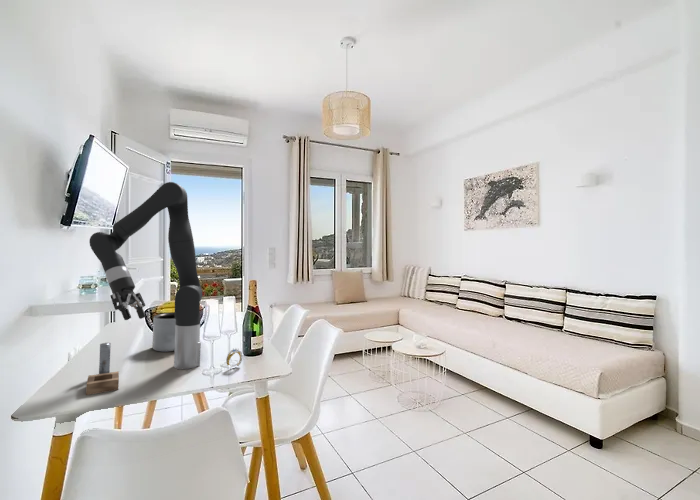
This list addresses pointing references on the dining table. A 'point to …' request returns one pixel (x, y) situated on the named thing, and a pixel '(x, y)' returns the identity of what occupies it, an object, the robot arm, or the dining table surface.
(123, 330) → the dining table surface
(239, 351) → the ring
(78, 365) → the dining table surface
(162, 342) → the planter
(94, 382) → the wooden square socket block
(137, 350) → the dining table surface
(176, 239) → the robot arm
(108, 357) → the rod
